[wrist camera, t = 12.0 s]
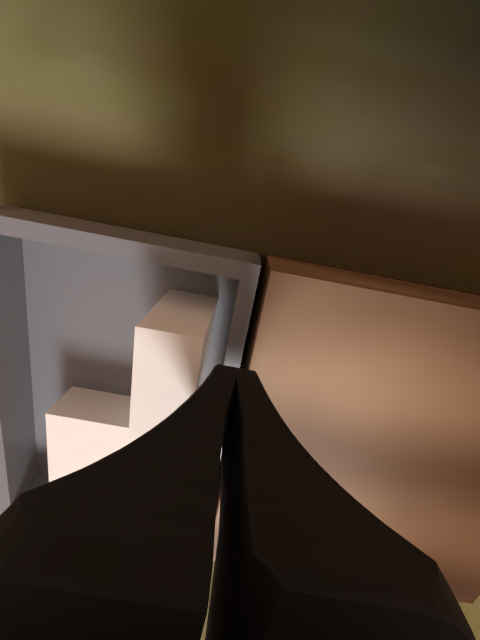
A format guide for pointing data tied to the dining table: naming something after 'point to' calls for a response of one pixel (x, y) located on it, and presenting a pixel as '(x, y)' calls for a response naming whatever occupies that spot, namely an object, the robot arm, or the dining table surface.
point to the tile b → (169, 356)
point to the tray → (93, 317)
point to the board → (381, 398)
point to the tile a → (85, 429)
